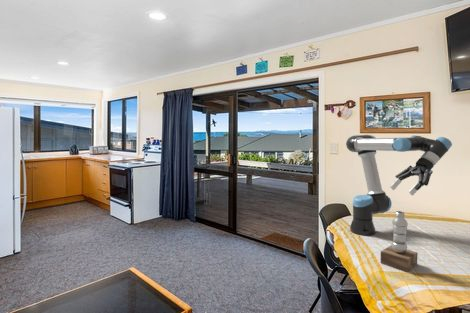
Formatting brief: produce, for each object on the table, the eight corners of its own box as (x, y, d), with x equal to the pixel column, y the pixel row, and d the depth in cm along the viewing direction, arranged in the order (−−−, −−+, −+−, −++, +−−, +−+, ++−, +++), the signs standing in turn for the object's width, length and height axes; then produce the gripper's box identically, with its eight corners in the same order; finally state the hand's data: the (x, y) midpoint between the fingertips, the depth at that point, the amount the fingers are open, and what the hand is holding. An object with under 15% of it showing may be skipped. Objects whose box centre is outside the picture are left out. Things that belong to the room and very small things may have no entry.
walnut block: (391, 256, 143) (391, 245, 143) (417, 264, 134) (417, 252, 133) (380, 263, 136) (380, 251, 136) (407, 272, 127) (407, 259, 126)
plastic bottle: (401, 248, 138) (402, 210, 136) (410, 254, 131) (411, 213, 130) (388, 249, 138) (389, 210, 136) (397, 255, 131) (398, 214, 129)
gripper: (452, 169, 134) (424, 201, 133) (413, 164, 158) (389, 190, 158) (443, 158, 133) (414, 190, 132) (405, 155, 157) (380, 182, 157)
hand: (400, 191), depth 145 cm, fingers open, 13 cm apart
